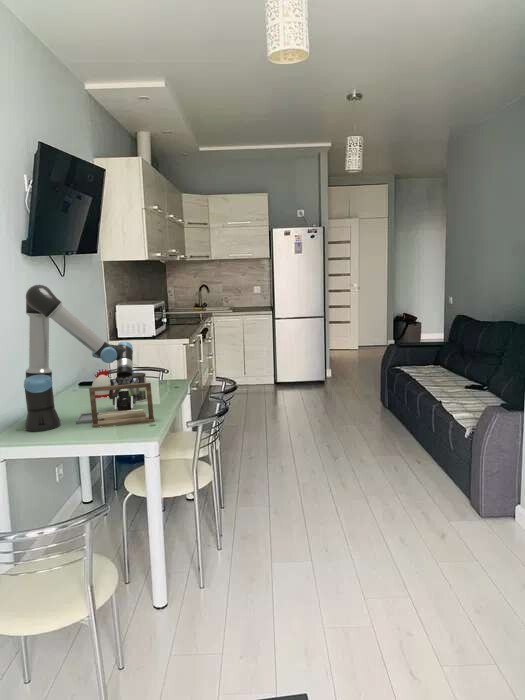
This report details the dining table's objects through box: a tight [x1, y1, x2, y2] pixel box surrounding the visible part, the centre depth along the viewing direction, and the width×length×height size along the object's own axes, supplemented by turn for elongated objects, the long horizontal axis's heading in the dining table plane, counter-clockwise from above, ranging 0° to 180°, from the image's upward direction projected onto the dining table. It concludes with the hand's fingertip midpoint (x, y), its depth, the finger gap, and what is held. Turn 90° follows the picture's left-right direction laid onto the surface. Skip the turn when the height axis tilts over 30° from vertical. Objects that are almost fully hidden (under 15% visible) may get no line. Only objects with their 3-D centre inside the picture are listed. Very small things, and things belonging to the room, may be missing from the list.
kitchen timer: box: [91, 368, 115, 399], centre depth 310 cm, size 14×14×15 cm
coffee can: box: [126, 372, 147, 403], centre depth 293 cm, size 10×10×14 cm
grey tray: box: [75, 410, 110, 425], centre depth 259 cm, size 13×13×2 cm
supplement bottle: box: [117, 390, 131, 411], centre depth 257 cm, size 7×7×12 cm
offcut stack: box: [97, 408, 147, 424], centre depth 248 cm, size 5×21×4 cm, turn 98°
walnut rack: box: [88, 382, 155, 428], centre depth 248 cm, size 6×27×18 cm, turn 99°
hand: (124, 409), depth 254 cm, fingers closed on supplement bottle, 7 cm apart
